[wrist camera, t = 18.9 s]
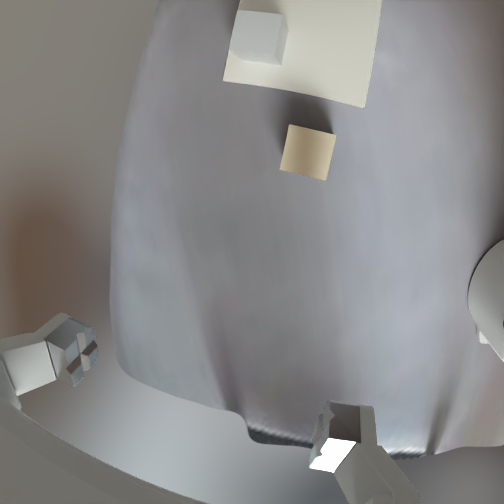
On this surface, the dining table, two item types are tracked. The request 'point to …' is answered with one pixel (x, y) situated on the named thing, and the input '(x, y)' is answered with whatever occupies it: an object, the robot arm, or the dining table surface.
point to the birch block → (307, 152)
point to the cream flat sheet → (317, 49)
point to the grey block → (259, 37)
